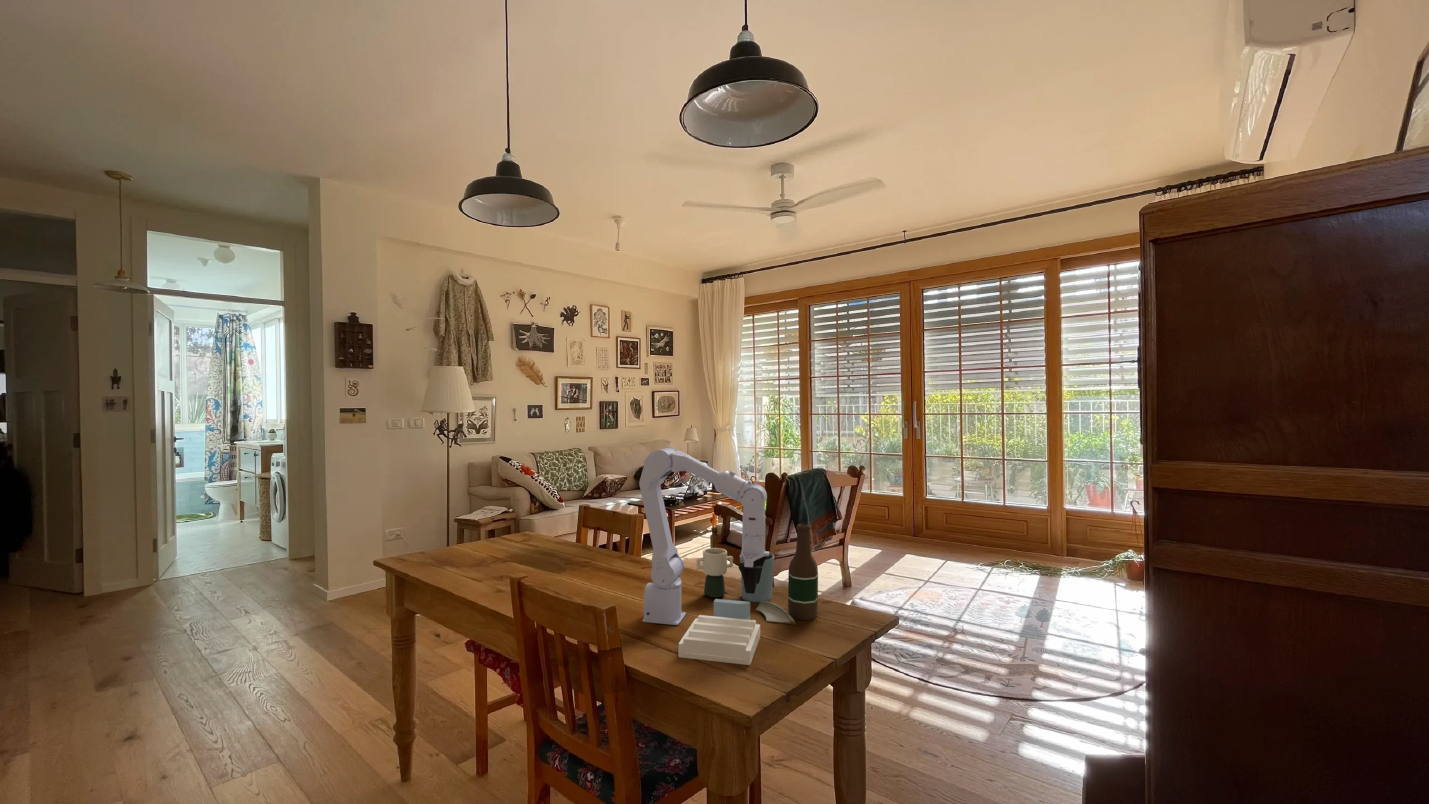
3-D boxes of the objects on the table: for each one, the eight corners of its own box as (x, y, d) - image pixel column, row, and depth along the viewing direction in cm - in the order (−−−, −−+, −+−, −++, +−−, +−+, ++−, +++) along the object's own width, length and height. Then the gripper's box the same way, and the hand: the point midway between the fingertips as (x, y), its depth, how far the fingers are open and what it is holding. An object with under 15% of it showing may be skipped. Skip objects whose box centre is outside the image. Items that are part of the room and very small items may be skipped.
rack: (678, 657, 126) (678, 639, 126) (695, 630, 140) (695, 614, 140) (750, 665, 122) (750, 646, 122) (760, 636, 137) (760, 620, 137)
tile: (713, 625, 144) (713, 601, 144) (715, 622, 146) (715, 598, 146) (748, 628, 142) (748, 604, 142) (750, 625, 144) (750, 601, 144)
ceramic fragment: (796, 626, 145) (796, 610, 145) (781, 630, 142) (781, 615, 142) (761, 610, 156) (761, 596, 156) (746, 614, 153) (746, 600, 153)
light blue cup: (748, 605, 158) (749, 561, 158) (733, 593, 167) (733, 552, 167) (780, 600, 162) (781, 558, 162) (763, 589, 172) (764, 549, 171)
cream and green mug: (729, 590, 170) (729, 546, 170) (736, 598, 163) (736, 553, 163) (693, 593, 168) (693, 548, 168) (699, 601, 161) (699, 555, 161)
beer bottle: (804, 623, 146) (805, 529, 145) (781, 614, 151) (782, 524, 151) (823, 615, 151) (824, 525, 151) (801, 607, 157) (801, 520, 156)
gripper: (765, 541, 135) (764, 599, 135) (773, 528, 149) (772, 580, 149) (736, 539, 136) (735, 596, 136) (746, 526, 151) (745, 578, 151)
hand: (752, 587), depth 143 cm, fingers open, 7 cm apart
